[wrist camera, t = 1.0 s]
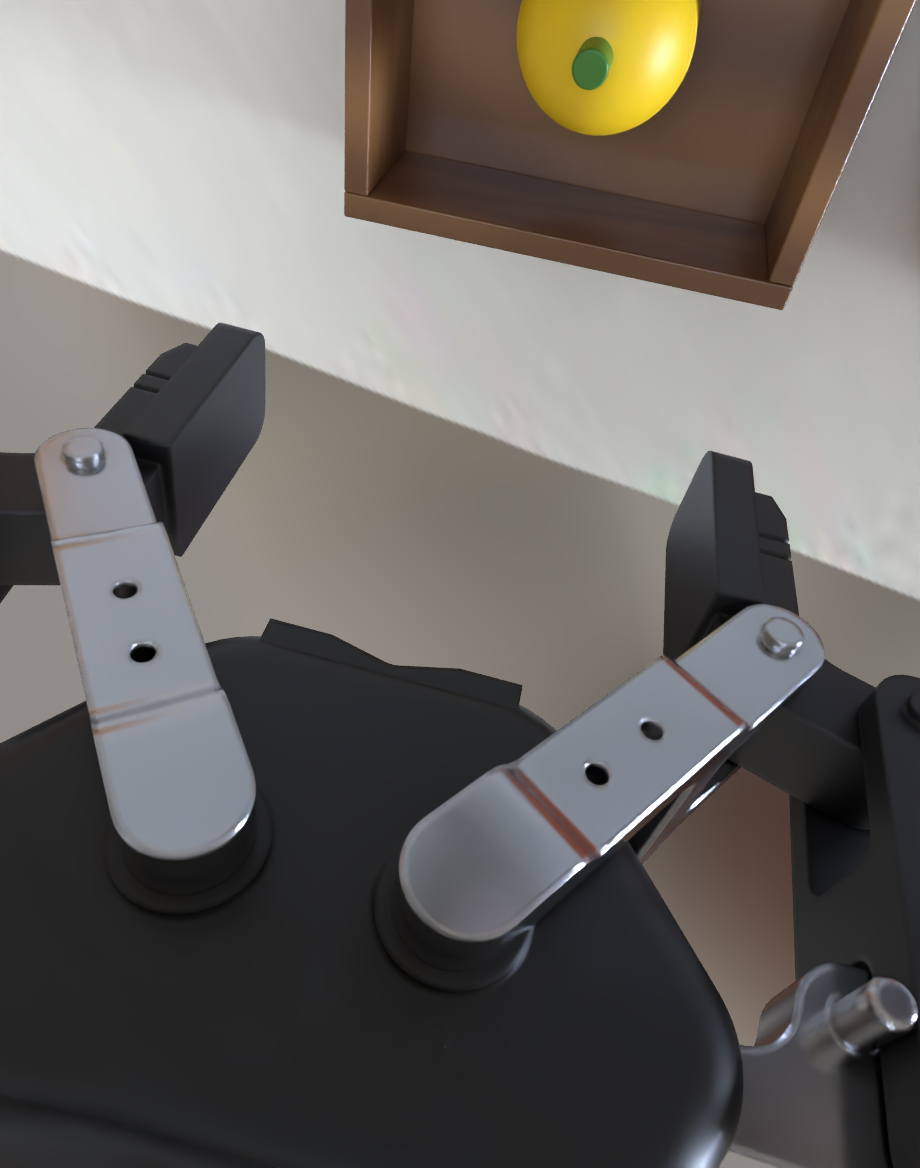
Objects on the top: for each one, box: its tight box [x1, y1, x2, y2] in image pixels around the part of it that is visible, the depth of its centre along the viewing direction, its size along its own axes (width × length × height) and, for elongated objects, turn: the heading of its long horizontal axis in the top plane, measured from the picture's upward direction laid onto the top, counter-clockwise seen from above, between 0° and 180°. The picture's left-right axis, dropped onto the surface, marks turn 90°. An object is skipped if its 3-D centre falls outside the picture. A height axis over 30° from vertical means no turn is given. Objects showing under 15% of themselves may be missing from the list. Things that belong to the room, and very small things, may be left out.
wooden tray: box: [344, 0, 916, 310], centre depth 24 cm, size 13×15×5 cm
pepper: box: [516, 0, 702, 136], centre depth 23 cm, size 5×5×8 cm
